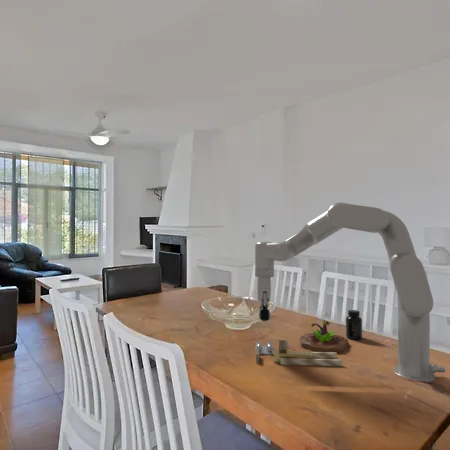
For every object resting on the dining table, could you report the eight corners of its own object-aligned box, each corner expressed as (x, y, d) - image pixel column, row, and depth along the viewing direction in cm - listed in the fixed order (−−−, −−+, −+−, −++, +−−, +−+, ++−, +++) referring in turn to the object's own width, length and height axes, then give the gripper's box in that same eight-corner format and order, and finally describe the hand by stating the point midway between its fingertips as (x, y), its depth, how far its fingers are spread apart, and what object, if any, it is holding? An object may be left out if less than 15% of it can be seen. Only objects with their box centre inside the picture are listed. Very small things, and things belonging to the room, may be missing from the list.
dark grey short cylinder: (266, 305, 144) (271, 315, 144) (257, 309, 144) (261, 319, 144) (267, 308, 139) (272, 318, 139) (257, 312, 139) (261, 323, 139)
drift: (311, 361, 132) (311, 351, 132) (312, 365, 128) (312, 355, 128) (273, 359, 133) (273, 349, 133) (273, 363, 130) (273, 353, 130)
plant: (295, 350, 143) (296, 322, 143) (303, 336, 161) (303, 311, 161) (348, 357, 136) (348, 328, 136) (349, 341, 154) (349, 315, 154)
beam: (336, 357, 134) (336, 341, 134) (341, 366, 126) (341, 348, 126) (255, 355, 136) (255, 339, 136) (256, 363, 128) (256, 346, 128)
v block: (255, 347, 146) (255, 340, 146) (272, 347, 145) (272, 341, 145) (255, 354, 138) (255, 347, 138) (274, 354, 137) (274, 347, 137)
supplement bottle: (364, 337, 158) (364, 310, 158) (358, 341, 153) (358, 313, 153) (349, 334, 163) (349, 308, 163) (343, 337, 158) (343, 311, 158)
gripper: (254, 269, 150) (254, 312, 150) (255, 275, 133) (255, 323, 133) (272, 270, 150) (272, 312, 150) (275, 275, 133) (275, 324, 133)
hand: (264, 317), depth 142 cm, fingers closed on dark grey short cylinder, 5 cm apart
